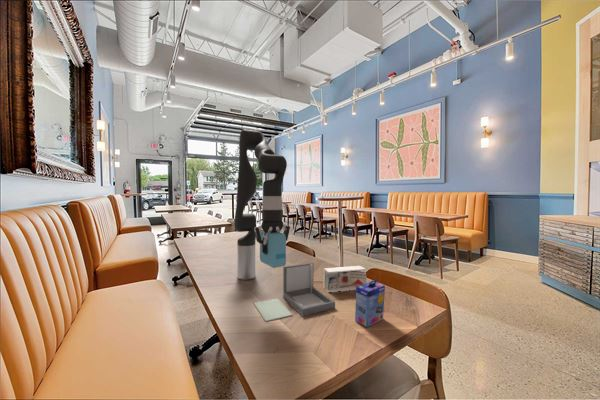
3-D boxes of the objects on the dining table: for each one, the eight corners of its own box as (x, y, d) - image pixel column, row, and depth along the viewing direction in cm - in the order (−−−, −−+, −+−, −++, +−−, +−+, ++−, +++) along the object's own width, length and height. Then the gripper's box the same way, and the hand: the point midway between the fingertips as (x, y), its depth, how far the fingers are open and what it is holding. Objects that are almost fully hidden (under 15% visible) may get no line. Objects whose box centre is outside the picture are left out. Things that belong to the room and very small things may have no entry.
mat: (253, 303, 97) (253, 302, 97) (277, 299, 101) (277, 298, 101) (265, 321, 83) (265, 320, 83) (292, 315, 88) (292, 314, 88)
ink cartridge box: (367, 328, 80) (368, 284, 79) (354, 321, 84) (354, 279, 84) (385, 319, 86) (385, 278, 85) (371, 312, 90) (372, 274, 90)
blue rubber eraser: (286, 266, 89) (286, 233, 88) (275, 269, 86) (275, 235, 86) (269, 259, 98) (269, 229, 98) (259, 261, 95) (259, 230, 95)
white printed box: (327, 293, 108) (328, 272, 108) (323, 288, 114) (323, 268, 113) (368, 288, 113) (368, 268, 113) (362, 284, 119) (362, 265, 119)
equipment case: (283, 297, 103) (283, 266, 103) (312, 291, 110) (312, 262, 109) (302, 316, 87) (302, 280, 87) (335, 308, 93) (335, 274, 93)
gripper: (286, 207, 98) (285, 249, 98) (250, 208, 92) (250, 253, 92) (293, 208, 91) (293, 253, 92) (256, 209, 85) (256, 257, 85)
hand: (272, 253), depth 92 cm, fingers closed on blue rubber eraser, 5 cm apart
